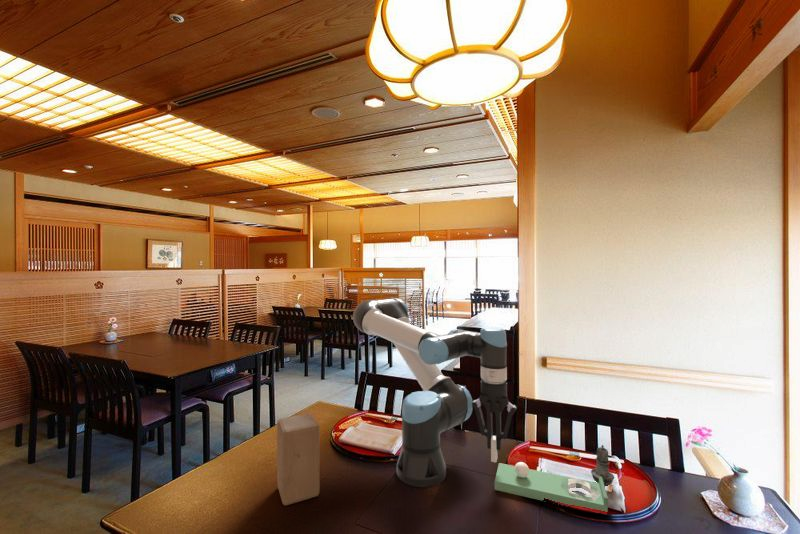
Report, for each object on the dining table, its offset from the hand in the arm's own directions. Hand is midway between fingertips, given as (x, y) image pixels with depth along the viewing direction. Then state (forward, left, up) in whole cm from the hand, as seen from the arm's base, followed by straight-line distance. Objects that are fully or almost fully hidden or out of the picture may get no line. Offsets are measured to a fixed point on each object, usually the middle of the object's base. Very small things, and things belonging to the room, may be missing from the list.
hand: (494, 459), depth 106 cm
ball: (+8, 0, -1) cm, 8 cm away
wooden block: (-50, -27, -6) cm, 57 cm away
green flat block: (+15, 0, -6) cm, 16 cm away
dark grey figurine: (+29, +8, -6) cm, 31 cm away
